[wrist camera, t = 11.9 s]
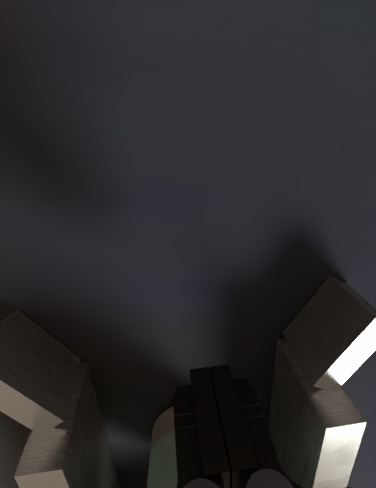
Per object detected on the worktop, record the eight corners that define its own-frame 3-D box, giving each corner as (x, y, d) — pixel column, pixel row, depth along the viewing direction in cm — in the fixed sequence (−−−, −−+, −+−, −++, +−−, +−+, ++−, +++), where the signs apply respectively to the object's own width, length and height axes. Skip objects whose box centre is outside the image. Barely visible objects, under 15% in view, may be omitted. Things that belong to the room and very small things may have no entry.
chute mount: (350, 272, 18) (485, 385, 11) (307, 478, 27) (364, 614, 20) (-8, 311, 16) (-133, 477, 9) (76, 517, 25) (46, 681, 18)
